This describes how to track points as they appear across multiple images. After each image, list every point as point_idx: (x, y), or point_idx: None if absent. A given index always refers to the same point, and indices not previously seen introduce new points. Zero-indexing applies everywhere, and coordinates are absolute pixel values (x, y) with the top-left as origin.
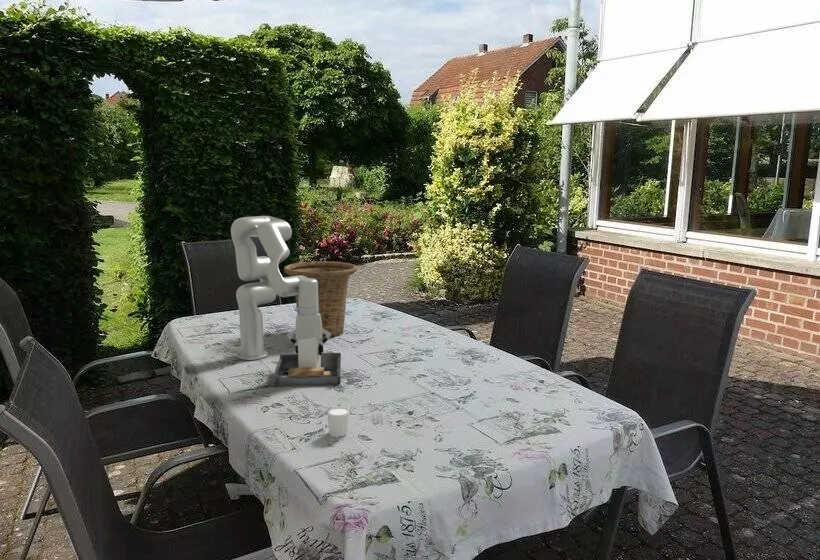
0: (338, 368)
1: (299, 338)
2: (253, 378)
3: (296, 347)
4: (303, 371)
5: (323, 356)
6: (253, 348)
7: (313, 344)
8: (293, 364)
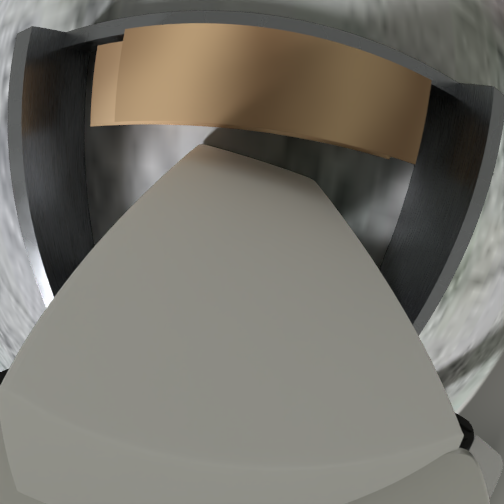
0: (22, 43)
1: (448, 480)
2: (484, 233)
3: None
4: (313, 36)
5: None
6: None
7: (98, 329)
8: None
